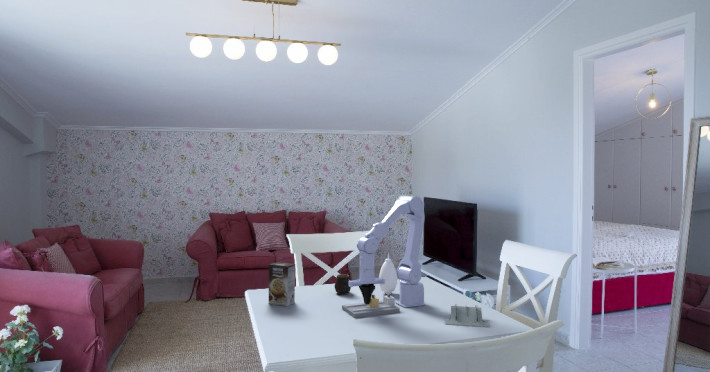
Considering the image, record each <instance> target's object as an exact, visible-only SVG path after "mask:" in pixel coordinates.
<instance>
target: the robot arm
mask: <svg viewBox="0 0 710 372" xmlns="http://www.w3.org/2000/svg"><path fill="white" fill-rule="evenodd" d="M424 208H425V202H424V201H423V199H422V198H421V197H420V196H418V195H414V196H413V195H406V194H403V195H400V196H399V197H398V198H397V199H396V201H395V202H394V205H393V206H392V208H391V209H390V210H389V211H388V212H387V214H386V215H385V217H384V218H383V220H382V221H381V222H376V223H373V225H372V228H371V229H370V230H369V231H368V232H366V233H365V236H363V237H361V238H360V239H358V241H357V244H356V249H357V250H358V252H359V253H358V254H359V278H357V279H355V280H354V279H353V280H349V287H351V288H354V287H358V288H359V290H360V292H361V295H362V298H363V299H362V300H363V303H365V304H369V303H370V299H371V296H372V295H373V293H374V292H375V290H376V285H379V284H385V279H384V278H379V277H375V252H377V250H378V248H379V244H380V242H381V241H382V240H383V239H384V238H385V236H386V235H387V234H388V233H389V227H390V226H391V225H393V223H394V222H395V221H396V220H398V218H399V217H400V216H402V215H406V216H407V217H408V219H410V220H409V221H410V222H409V227H408V233H407V238H406V239H407V240H406V245H405V251H404V256H403V258H402V259H400V261H399V265H398V267H397V268H396V274H397V279H399V300H398V301H397V300H395V304H398V305H400V306H401V307H403V308H411V307H412V308H413V307H419V306H425V305H426V304H425V287H424V284H423V282H421V279H422V265H421V263H420V261H419V255H420V254H419V253H420V248H421V241H422V235H423V231H424V230H423V229H424V225H425V220H426V219H425V217H426V216H425V211H424V210H425V209H424Z"/></svg>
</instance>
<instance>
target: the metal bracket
mask: <svg viewBox="0 0 710 372" xmlns="http://www.w3.org/2000/svg"><path fill="white" fill-rule="evenodd" d="M444 325H446V326H461V327H463V326H464V327H477V328H485V329H486V328H490V323H489V321H483V312H482V307H478V306H477V304H475V305H474V306H463V305H461V306H460V305H457V303H455V304H454V305H451V306H450V319H445V321H444Z"/></svg>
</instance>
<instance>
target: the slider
mask: <svg viewBox="0 0 710 372" xmlns="http://www.w3.org/2000/svg"><path fill="white" fill-rule="evenodd" d="M379 301H380V298H378V297H376V295H375V294H372V296H371V299H370V303H369V304H367V305H369V306H371V307H378V306H379Z"/></svg>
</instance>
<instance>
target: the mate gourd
mask: <svg viewBox="0 0 710 372" xmlns="http://www.w3.org/2000/svg"><path fill="white" fill-rule="evenodd" d="M349 281H350V275H349V272H346V274H344V273H342V274H341V273H340V274H337V275H336V281H335V283H334V289H335V292H336V294H338V295H348V294H349V293H350V292H351V289H352V287H349Z"/></svg>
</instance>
